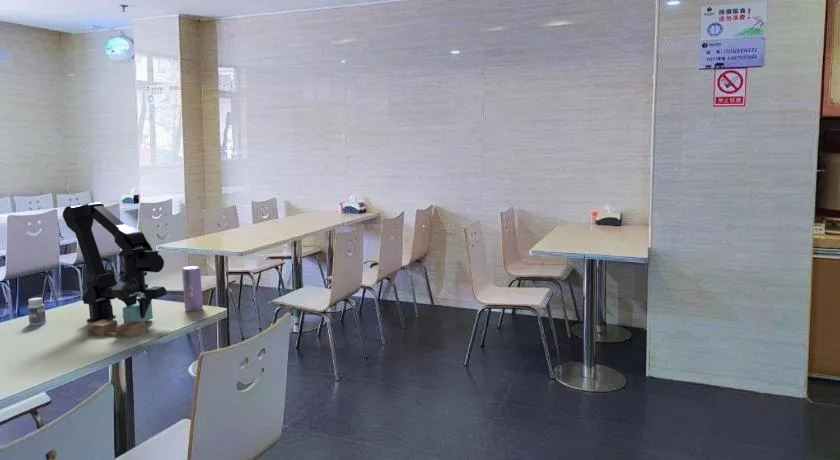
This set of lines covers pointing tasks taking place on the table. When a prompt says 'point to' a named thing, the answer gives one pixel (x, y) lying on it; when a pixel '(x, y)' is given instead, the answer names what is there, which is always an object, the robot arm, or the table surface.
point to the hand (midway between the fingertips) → (138, 317)
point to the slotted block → (116, 328)
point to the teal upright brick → (136, 313)
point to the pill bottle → (36, 311)
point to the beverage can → (192, 288)
